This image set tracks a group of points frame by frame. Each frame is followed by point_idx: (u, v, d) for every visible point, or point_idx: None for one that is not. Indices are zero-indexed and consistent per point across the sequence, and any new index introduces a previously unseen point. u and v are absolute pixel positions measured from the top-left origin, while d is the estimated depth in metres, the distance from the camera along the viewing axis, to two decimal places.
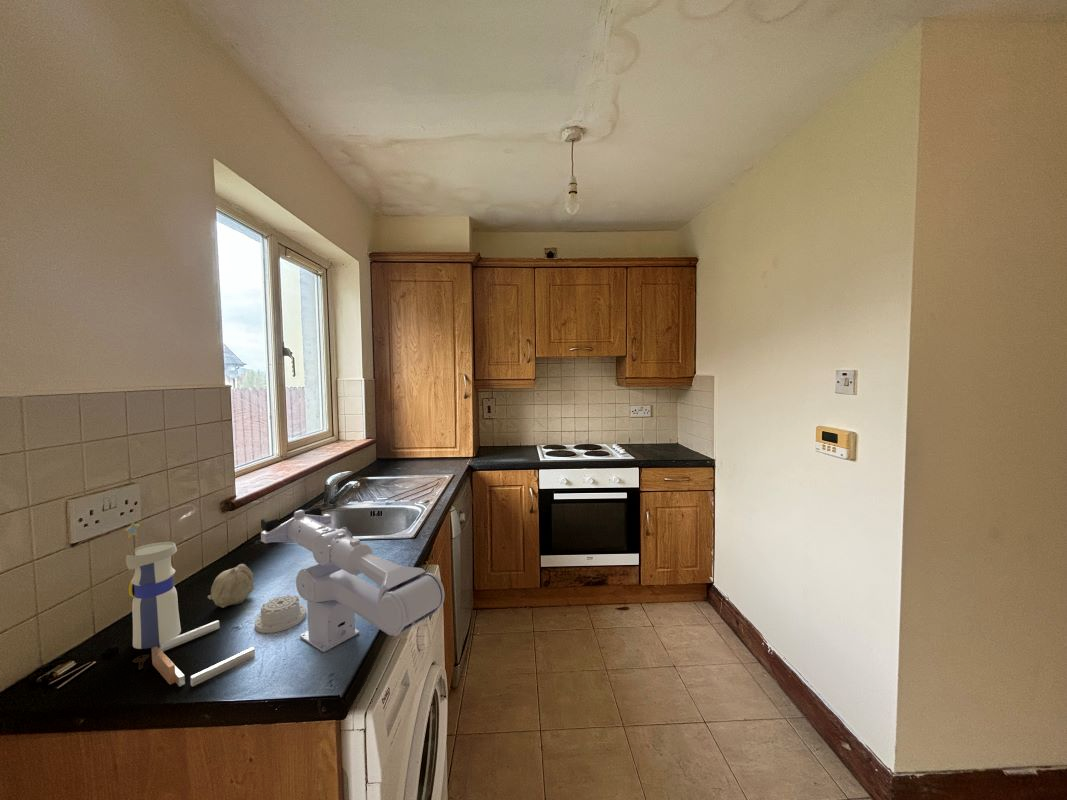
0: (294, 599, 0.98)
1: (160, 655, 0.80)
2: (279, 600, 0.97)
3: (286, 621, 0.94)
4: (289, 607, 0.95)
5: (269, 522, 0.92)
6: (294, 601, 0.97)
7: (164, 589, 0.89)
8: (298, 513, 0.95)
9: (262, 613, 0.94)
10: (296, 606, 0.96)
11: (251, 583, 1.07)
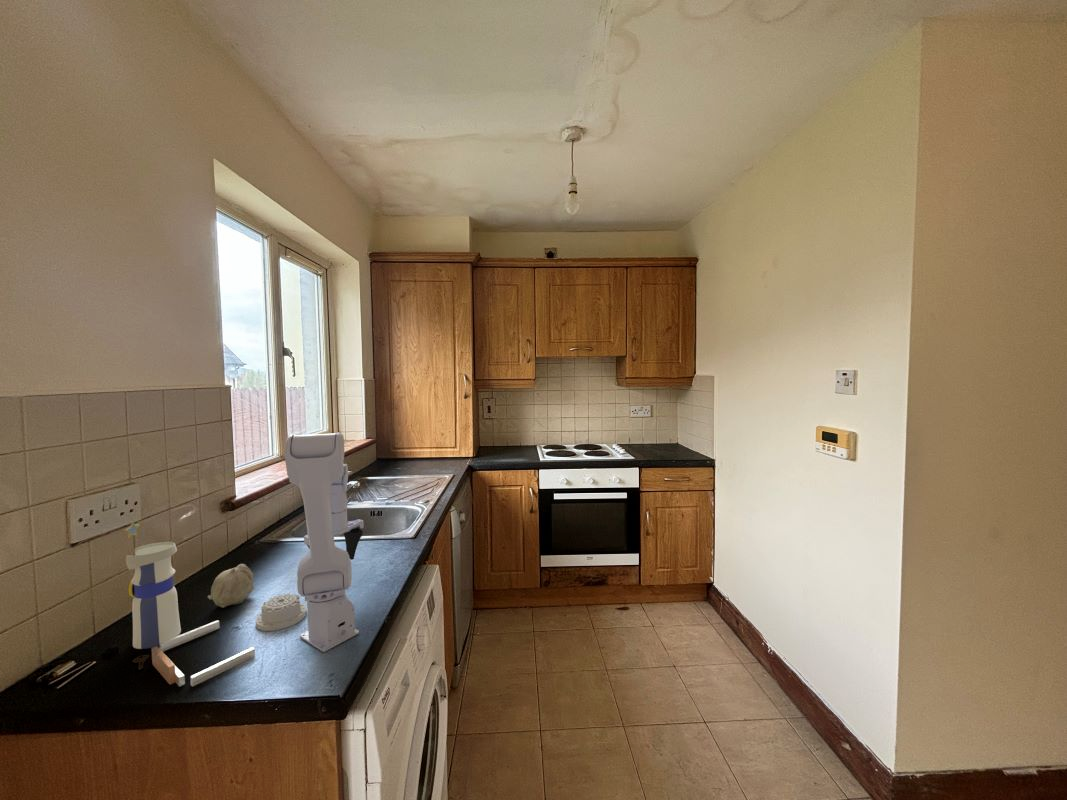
0: (295, 597, 0.99)
1: (160, 655, 0.80)
2: (280, 598, 0.98)
3: (287, 619, 0.95)
4: (290, 605, 0.96)
5: None
6: (295, 599, 0.98)
7: (164, 589, 0.89)
8: None
9: (263, 611, 0.94)
10: (297, 605, 0.97)
11: (251, 583, 1.07)
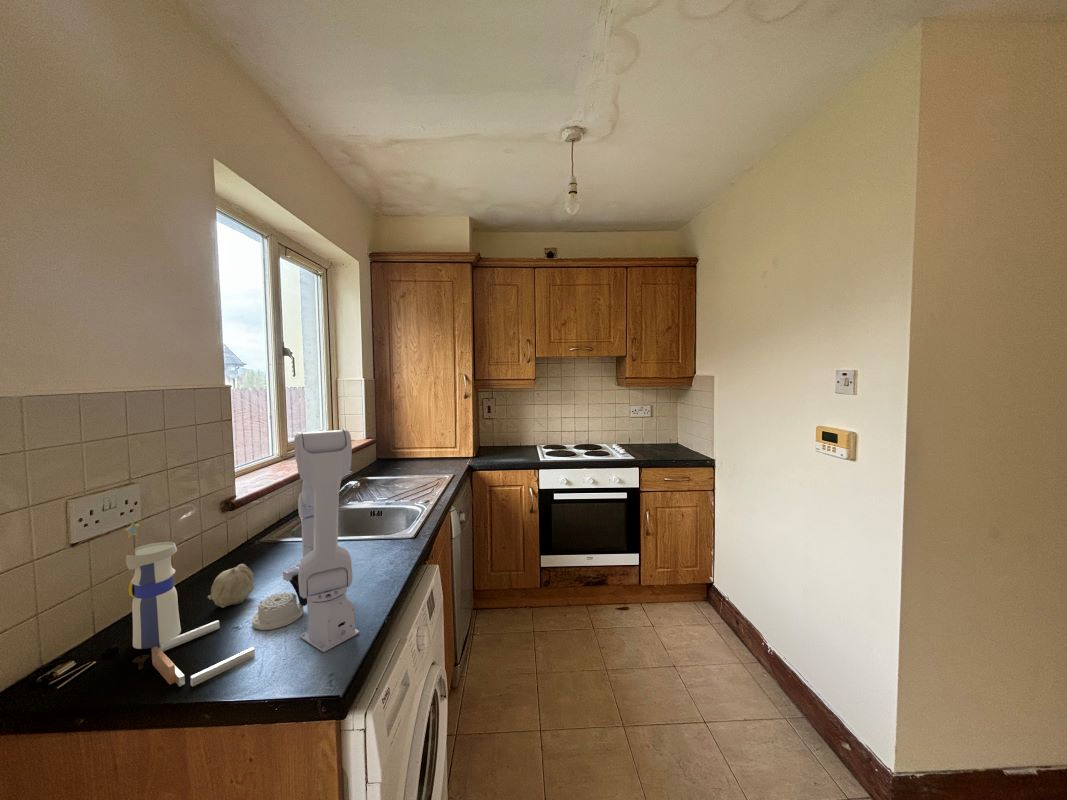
0: (291, 596, 0.99)
1: (160, 655, 0.80)
2: (276, 597, 0.98)
3: (283, 618, 0.95)
4: (286, 604, 0.96)
5: None
6: (291, 598, 0.98)
7: (164, 589, 0.89)
8: None
9: (259, 610, 0.94)
10: (293, 604, 0.97)
11: (251, 583, 1.07)
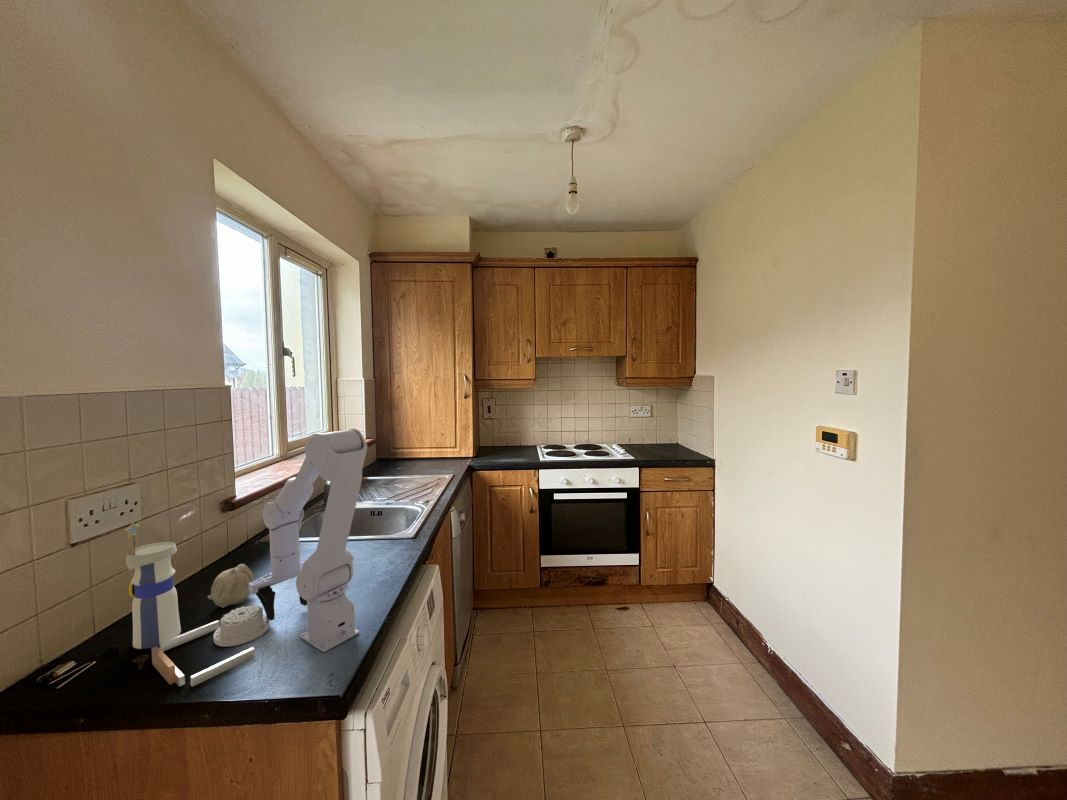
0: (257, 610, 0.93)
1: (160, 655, 0.80)
2: (241, 611, 0.93)
3: (245, 634, 0.89)
4: (249, 619, 0.90)
5: None
6: (256, 612, 0.92)
7: (164, 589, 0.89)
8: None
9: (221, 625, 0.89)
10: (257, 618, 0.91)
11: None
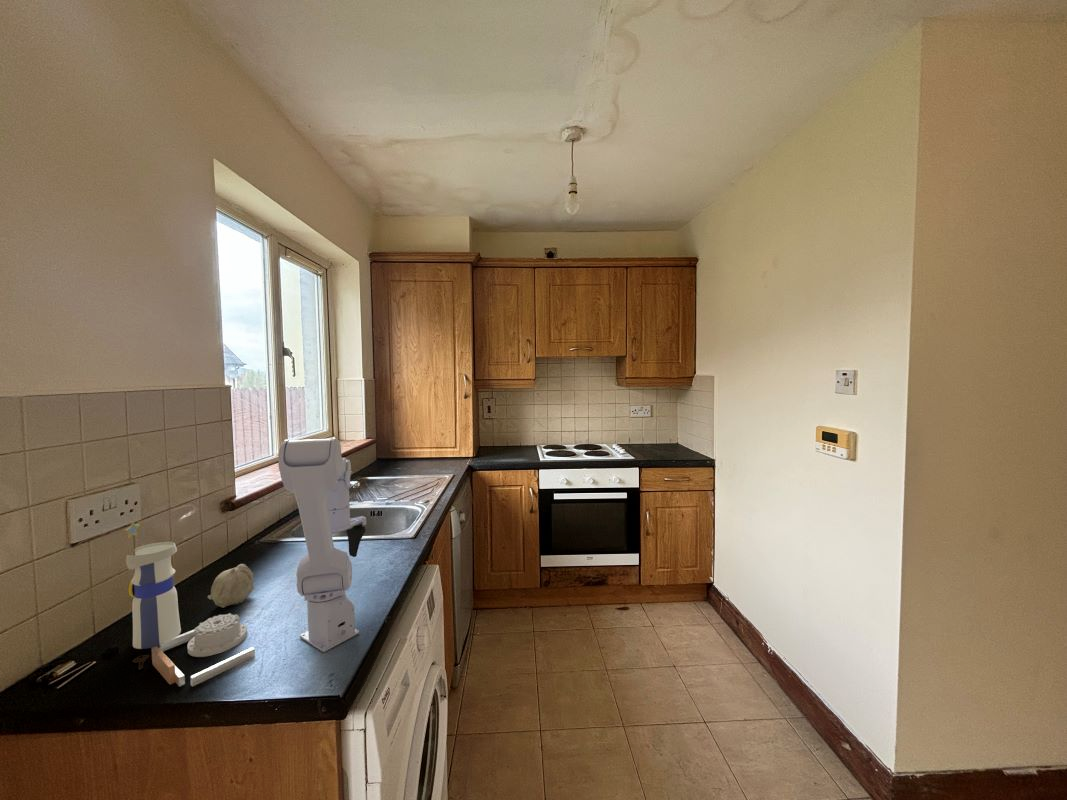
0: (233, 619, 0.90)
1: (160, 655, 0.80)
2: (217, 619, 0.90)
3: (219, 644, 0.86)
4: (224, 629, 0.87)
5: None
6: (232, 622, 0.89)
7: (164, 589, 0.89)
8: None
9: (195, 634, 0.86)
10: (232, 628, 0.88)
11: (251, 583, 1.07)
